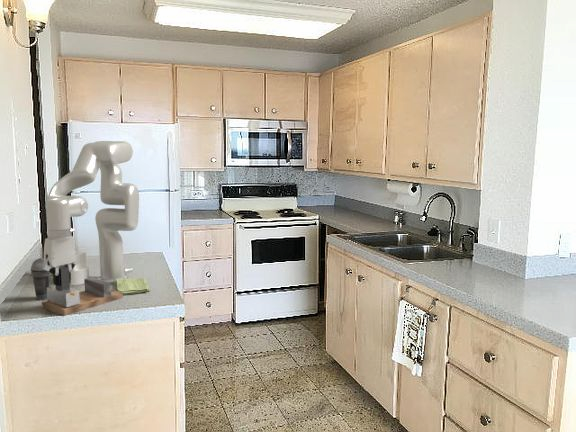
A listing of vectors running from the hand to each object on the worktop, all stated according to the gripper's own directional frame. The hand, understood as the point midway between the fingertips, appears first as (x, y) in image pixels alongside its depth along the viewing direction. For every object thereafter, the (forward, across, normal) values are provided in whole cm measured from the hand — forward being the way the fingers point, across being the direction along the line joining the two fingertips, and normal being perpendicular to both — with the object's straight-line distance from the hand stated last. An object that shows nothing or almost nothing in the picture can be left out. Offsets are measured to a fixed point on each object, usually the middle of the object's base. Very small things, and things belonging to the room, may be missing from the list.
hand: (62, 283), depth 171 cm
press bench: (+9, -8, 0) cm, 12 cm away
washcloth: (+10, -30, 0) cm, 31 cm away
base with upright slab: (+10, -23, -27) cm, 37 cm away
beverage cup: (+9, -2, -17) cm, 20 cm away
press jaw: (+7, 0, +1) cm, 7 cm away
